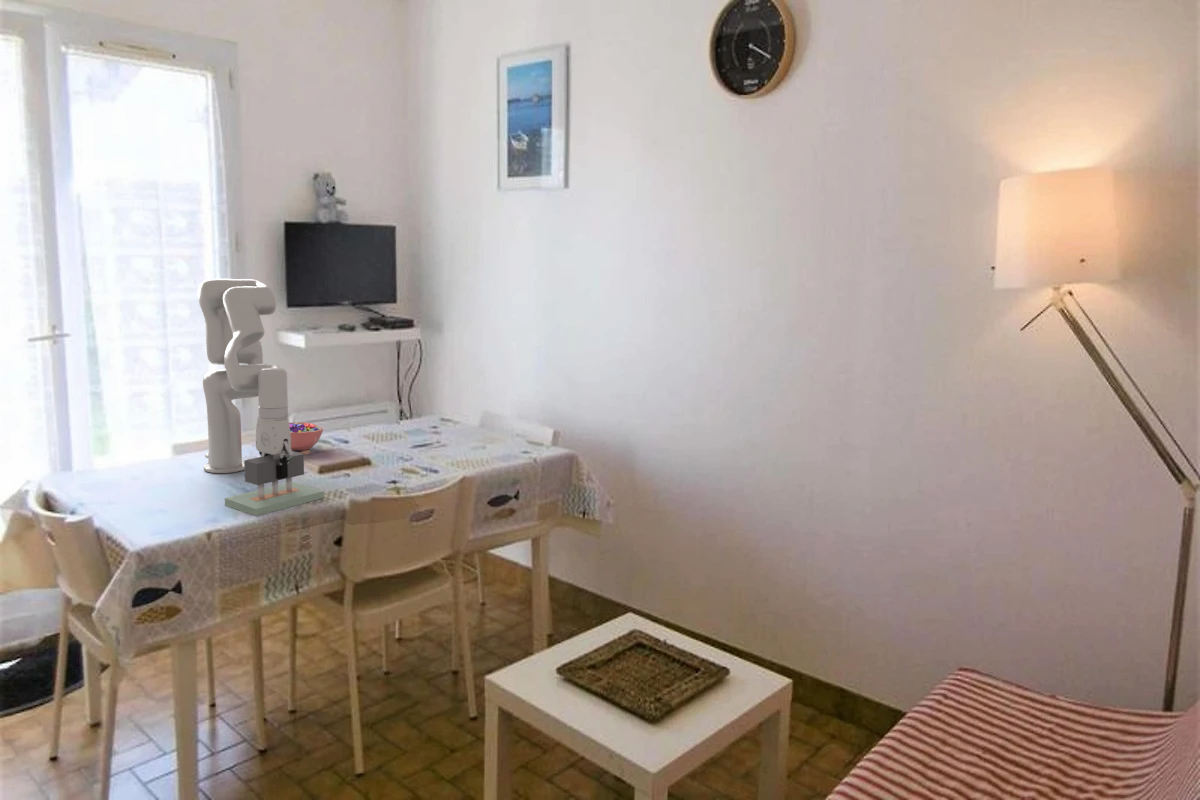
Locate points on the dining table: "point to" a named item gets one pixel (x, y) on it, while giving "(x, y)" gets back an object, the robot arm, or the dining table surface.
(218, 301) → the robot arm
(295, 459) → the block
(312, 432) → the cell model
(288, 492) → the header board
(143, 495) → the dining table surface
